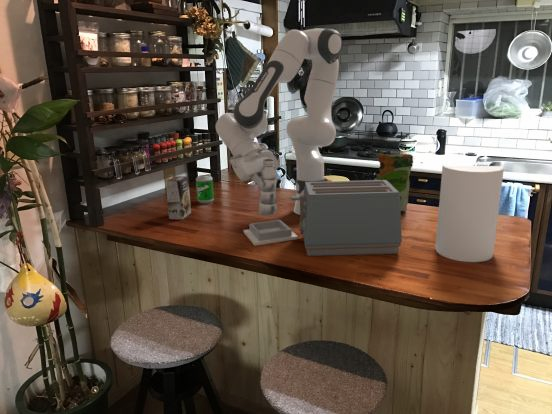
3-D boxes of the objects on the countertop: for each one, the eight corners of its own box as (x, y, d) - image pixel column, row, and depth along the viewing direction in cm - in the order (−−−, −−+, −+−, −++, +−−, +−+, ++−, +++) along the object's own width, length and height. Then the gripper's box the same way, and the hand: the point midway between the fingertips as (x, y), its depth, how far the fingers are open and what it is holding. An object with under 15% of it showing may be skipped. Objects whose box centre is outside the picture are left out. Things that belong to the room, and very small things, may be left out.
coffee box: (183, 219, 185) (180, 181, 180) (168, 219, 186) (164, 180, 182) (191, 213, 193) (188, 175, 189) (177, 212, 195) (174, 175, 190)
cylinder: (500, 263, 137) (511, 172, 129) (439, 260, 140) (447, 171, 132) (485, 242, 153) (494, 160, 145) (431, 240, 156) (438, 160, 148)
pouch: (412, 213, 185) (416, 152, 178) (389, 218, 180) (392, 155, 173) (394, 206, 195) (397, 148, 187) (371, 211, 190) (374, 151, 182)
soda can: (205, 198, 215) (203, 173, 211) (217, 200, 210) (215, 175, 207) (194, 202, 209) (192, 176, 205) (206, 204, 205) (204, 178, 201)
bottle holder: (284, 226, 174) (284, 218, 173) (298, 239, 161) (297, 229, 160) (243, 232, 169) (243, 223, 168) (254, 245, 156) (254, 236, 155)
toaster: (290, 236, 164) (289, 181, 158) (386, 234, 164) (389, 178, 158) (293, 258, 145) (292, 196, 139) (401, 255, 145) (405, 193, 140)
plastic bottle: (270, 219, 159) (271, 163, 152) (254, 215, 162) (255, 160, 156) (280, 214, 164) (282, 160, 157) (264, 210, 167) (265, 157, 161)
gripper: (232, 152, 151) (256, 184, 149) (268, 143, 167) (291, 172, 165) (222, 163, 155) (246, 195, 153) (259, 154, 171) (281, 183, 168)
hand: (269, 183), depth 159 cm, fingers closed on plastic bottle, 6 cm apart
